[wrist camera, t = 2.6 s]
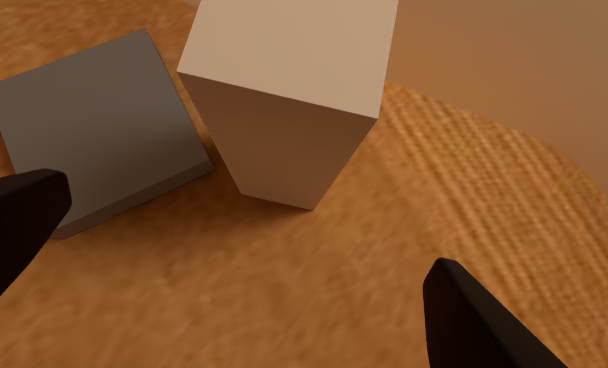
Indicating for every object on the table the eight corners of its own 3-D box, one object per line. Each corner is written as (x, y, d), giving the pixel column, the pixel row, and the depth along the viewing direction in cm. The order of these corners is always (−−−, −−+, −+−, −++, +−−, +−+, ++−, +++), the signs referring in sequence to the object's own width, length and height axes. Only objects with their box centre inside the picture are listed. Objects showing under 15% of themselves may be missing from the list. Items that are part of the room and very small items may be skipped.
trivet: (64, 239, 18) (39, 236, 16) (13, 104, 20) (-17, 87, 18) (215, 169, 20) (209, 159, 18) (157, 49, 21) (145, 28, 19)
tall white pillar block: (313, 210, 20) (378, 118, 7) (241, 194, 20) (176, 71, 7) (327, 143, 21) (405, -42, 8) (259, 127, 21) (230, -85, 8)
